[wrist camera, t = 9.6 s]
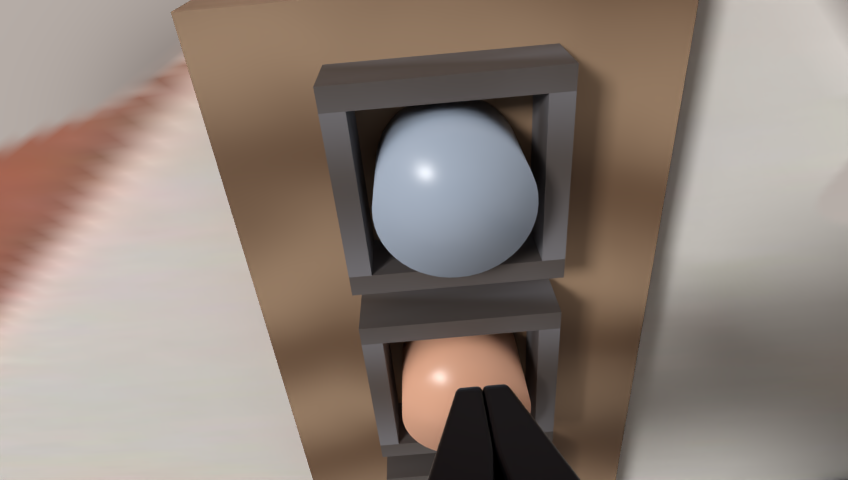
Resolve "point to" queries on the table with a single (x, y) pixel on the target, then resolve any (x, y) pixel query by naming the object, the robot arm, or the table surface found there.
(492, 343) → the terracotta button
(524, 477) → the robot arm
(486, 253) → the slate button
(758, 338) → the table surface
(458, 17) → the button panel
